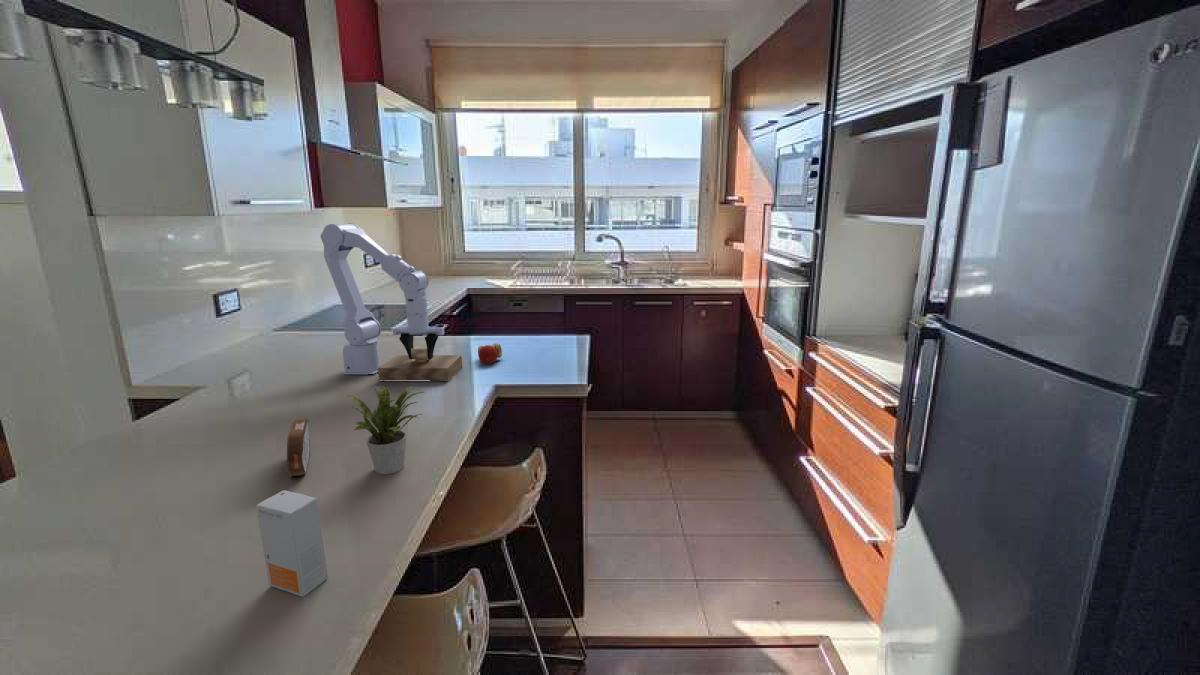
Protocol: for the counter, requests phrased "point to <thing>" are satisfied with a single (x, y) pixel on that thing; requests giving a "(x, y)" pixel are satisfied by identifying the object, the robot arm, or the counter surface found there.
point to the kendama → (489, 353)
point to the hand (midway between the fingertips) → (421, 358)
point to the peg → (419, 354)
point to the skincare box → (292, 542)
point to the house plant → (386, 431)
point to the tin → (298, 447)
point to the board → (421, 368)
